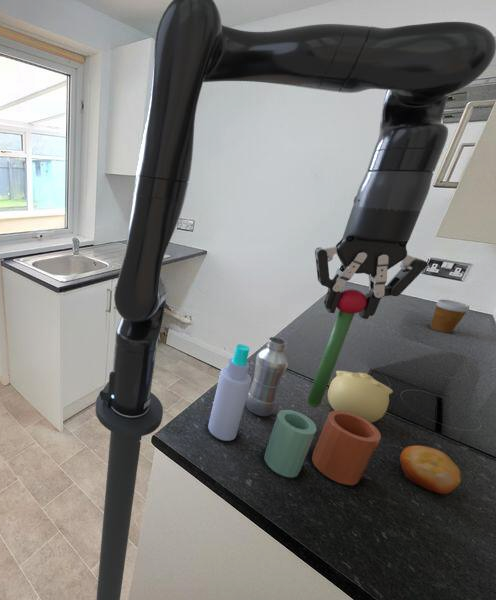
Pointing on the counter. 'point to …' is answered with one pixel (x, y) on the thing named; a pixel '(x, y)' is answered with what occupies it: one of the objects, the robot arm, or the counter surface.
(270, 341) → the silver metal bottle
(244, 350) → the spray bottle
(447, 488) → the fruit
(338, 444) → the terracotta vase
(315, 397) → the rose
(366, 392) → the sculpture
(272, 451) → the celadon vase
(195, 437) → the counter surface
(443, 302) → the disposable coffee cup
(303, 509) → the counter surface
